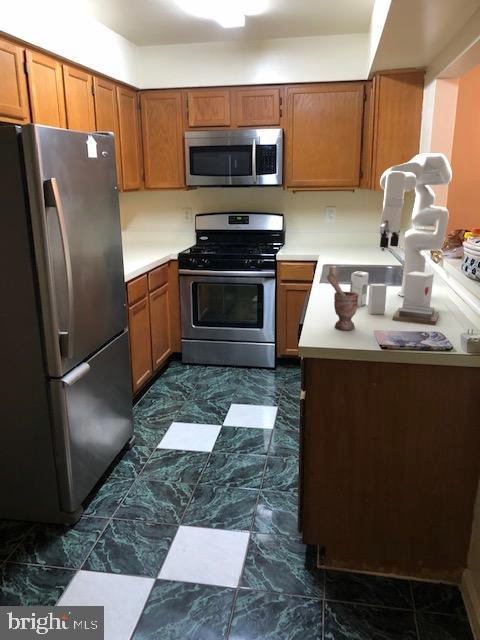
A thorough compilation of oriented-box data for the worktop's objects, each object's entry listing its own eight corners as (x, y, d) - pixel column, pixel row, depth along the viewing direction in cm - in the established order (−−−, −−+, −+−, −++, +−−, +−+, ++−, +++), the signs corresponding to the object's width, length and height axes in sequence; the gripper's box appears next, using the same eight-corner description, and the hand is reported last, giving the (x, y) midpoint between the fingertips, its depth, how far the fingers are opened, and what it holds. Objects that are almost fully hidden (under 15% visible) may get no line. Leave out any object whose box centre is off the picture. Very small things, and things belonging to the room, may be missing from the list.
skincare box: (381, 311, 215) (383, 283, 212) (385, 314, 211) (387, 285, 208) (366, 311, 215) (369, 283, 211) (370, 314, 210) (372, 285, 207)
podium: (398, 311, 216) (399, 302, 216) (438, 315, 210) (439, 307, 209) (392, 320, 202) (393, 311, 202) (435, 324, 196) (436, 316, 195)
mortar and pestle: (324, 330, 188) (327, 276, 183) (324, 323, 196) (326, 272, 191) (356, 331, 187) (360, 277, 181) (354, 325, 195) (358, 273, 190)
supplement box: (421, 311, 217) (425, 276, 213) (401, 307, 223) (405, 273, 219) (430, 307, 223) (434, 273, 219) (411, 304, 229) (414, 270, 225)
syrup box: (353, 302, 230) (356, 270, 226) (366, 304, 227) (368, 272, 223) (348, 305, 226) (350, 272, 222) (361, 307, 222) (363, 274, 219)
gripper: (393, 203, 213) (389, 245, 217) (375, 203, 200) (371, 247, 204) (410, 204, 208) (406, 246, 212) (393, 203, 195) (388, 248, 199)
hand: (388, 246), depth 208 cm, fingers open, 9 cm apart
